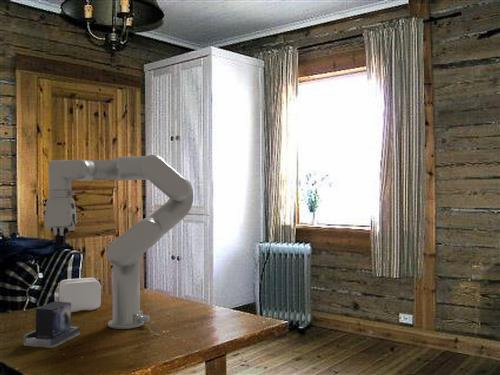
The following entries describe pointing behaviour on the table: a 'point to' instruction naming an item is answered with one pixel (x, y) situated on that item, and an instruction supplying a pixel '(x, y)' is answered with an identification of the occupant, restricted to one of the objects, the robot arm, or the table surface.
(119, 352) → the table surface
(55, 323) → the small box
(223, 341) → the table surface
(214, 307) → the table surface
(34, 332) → the rail seat
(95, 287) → the cable organizer
